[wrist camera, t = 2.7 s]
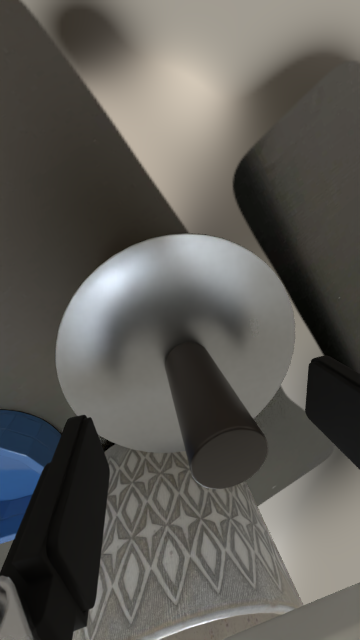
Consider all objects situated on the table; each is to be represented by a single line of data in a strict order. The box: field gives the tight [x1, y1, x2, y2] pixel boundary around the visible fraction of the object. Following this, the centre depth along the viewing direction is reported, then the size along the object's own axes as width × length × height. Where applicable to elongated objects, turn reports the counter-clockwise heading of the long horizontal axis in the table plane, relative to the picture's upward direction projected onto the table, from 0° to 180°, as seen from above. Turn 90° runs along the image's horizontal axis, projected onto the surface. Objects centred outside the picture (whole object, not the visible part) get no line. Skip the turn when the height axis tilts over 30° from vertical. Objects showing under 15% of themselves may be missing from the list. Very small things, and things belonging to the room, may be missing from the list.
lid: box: [55, 233, 295, 489], centre depth 10 cm, size 14×14×7 cm
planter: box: [72, 444, 304, 640], centre depth 21 cm, size 19×19×14 cm
